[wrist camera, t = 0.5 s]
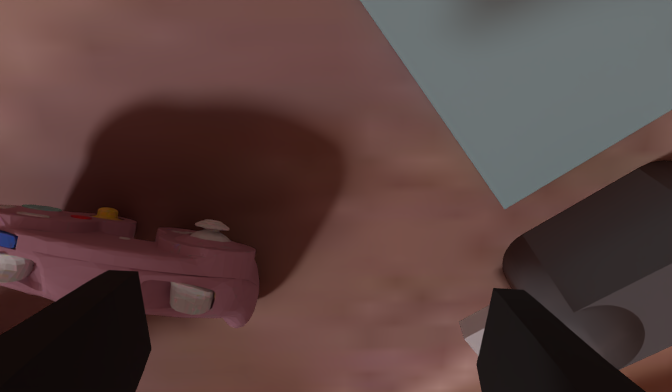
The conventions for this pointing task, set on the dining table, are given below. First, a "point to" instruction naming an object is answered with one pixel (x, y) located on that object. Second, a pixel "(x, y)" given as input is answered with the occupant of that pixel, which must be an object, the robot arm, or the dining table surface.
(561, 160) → the rubber mat
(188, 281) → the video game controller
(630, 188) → the connector plug
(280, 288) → the dining table surface
